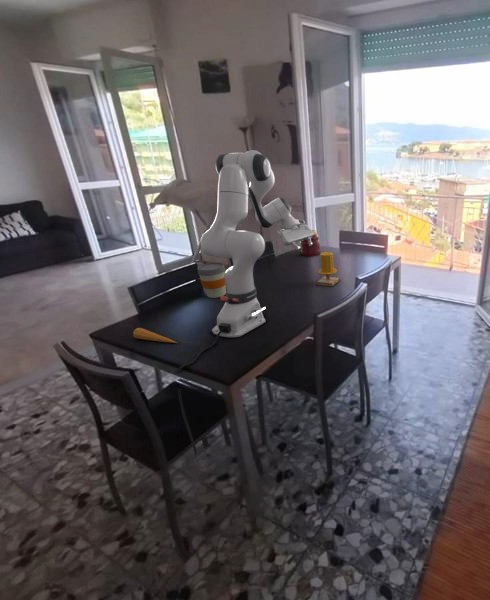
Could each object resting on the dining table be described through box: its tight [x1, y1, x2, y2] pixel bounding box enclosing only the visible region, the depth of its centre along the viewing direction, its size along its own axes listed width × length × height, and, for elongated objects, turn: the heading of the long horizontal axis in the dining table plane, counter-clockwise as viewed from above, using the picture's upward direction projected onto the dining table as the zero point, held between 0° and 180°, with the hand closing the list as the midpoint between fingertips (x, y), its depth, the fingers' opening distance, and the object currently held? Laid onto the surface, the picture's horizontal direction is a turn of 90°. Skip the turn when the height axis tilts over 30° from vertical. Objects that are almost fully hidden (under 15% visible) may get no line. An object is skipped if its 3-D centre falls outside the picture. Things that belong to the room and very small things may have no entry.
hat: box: [317, 251, 338, 276], centre depth 187 cm, size 10×10×10 cm
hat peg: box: [316, 274, 340, 287], centre depth 189 cm, size 9×9×16 cm
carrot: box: [132, 327, 178, 344], centre depth 139 cm, size 20×4×4 cm, turn 74°
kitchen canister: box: [299, 229, 321, 257], centre depth 237 cm, size 13×13×18 cm
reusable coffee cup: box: [197, 261, 227, 299], centre depth 177 cm, size 13×13×15 cm
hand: (305, 247), depth 190 cm, fingers open, 8 cm apart
